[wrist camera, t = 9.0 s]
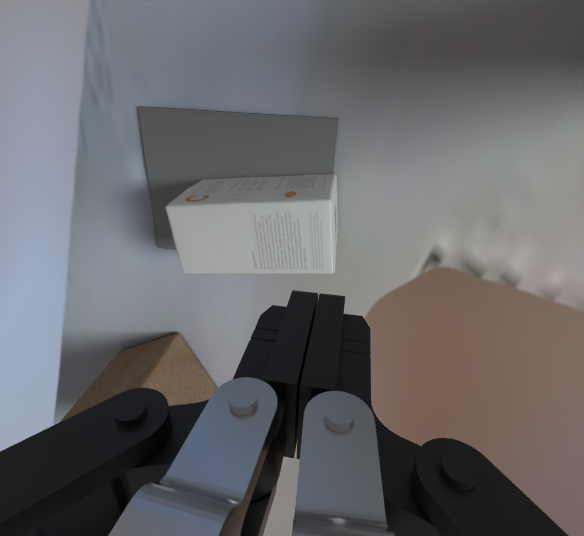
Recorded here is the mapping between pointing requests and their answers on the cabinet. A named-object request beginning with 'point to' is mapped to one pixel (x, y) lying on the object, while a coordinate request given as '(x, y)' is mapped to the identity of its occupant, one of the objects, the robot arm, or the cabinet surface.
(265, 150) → the mat
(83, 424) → the robot arm
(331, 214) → the small box
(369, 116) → the cabinet surface
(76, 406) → the wooden block
